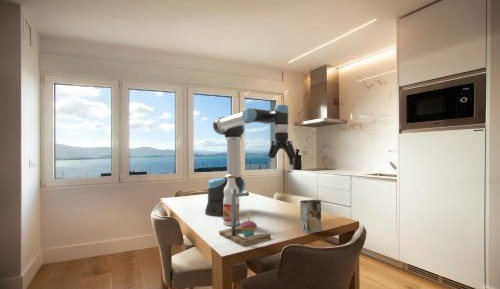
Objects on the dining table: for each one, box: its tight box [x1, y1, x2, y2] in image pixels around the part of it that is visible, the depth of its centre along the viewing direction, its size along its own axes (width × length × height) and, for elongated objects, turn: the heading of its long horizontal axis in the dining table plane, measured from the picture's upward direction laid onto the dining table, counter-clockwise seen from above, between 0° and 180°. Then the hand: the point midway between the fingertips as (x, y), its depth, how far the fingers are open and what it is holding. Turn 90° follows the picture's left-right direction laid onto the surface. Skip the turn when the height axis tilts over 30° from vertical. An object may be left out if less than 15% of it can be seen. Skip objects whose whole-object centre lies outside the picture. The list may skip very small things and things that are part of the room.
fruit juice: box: [222, 175, 240, 227], centre depth 158 cm, size 9×9×28 cm
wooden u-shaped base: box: [218, 225, 272, 247], centre depth 135 cm, size 20×17×2 cm
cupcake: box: [239, 211, 258, 238], centre depth 136 cm, size 9×8×12 cm
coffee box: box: [299, 199, 322, 234], centre depth 144 cm, size 9×6×16 cm
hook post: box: [231, 189, 250, 236], centre depth 133 cm, size 2×10×22 cm, turn 128°
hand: (281, 169), depth 153 cm, fingers open, 13 cm apart
